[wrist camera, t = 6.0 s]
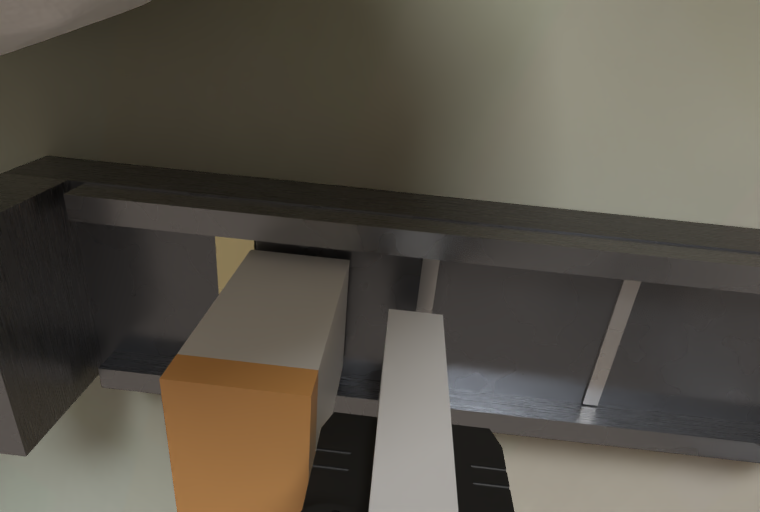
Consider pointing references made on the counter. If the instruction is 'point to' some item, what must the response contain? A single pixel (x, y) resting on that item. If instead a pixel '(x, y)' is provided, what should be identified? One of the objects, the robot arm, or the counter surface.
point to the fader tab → (257, 385)
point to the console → (388, 300)
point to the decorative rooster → (52, 18)
